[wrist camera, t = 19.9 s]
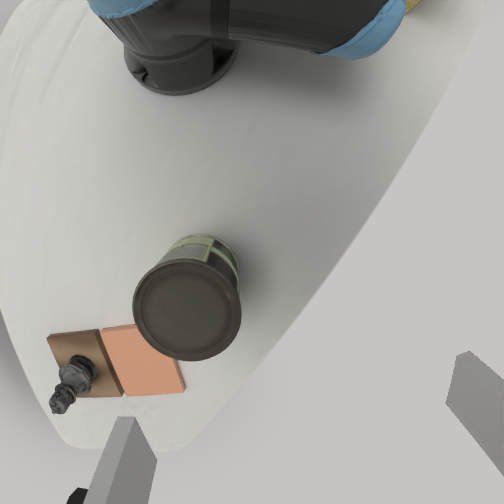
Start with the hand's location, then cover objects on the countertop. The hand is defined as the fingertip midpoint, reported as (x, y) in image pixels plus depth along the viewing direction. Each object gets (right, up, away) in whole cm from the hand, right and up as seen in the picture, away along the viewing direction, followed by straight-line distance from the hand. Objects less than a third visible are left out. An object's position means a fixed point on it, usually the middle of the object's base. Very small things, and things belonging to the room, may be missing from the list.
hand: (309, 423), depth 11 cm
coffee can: (-9, +4, +31) cm, 33 cm away
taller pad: (-19, -10, +34) cm, 40 cm away
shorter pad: (-29, -12, +34) cm, 46 cm away
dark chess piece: (-29, -12, +32) cm, 45 cm away
